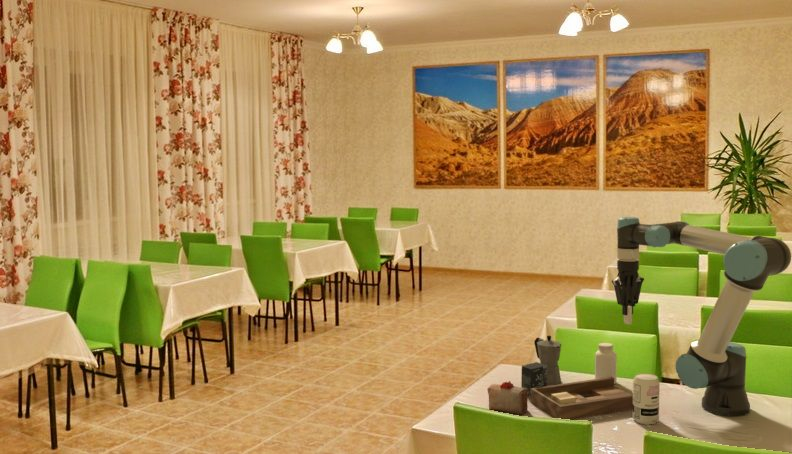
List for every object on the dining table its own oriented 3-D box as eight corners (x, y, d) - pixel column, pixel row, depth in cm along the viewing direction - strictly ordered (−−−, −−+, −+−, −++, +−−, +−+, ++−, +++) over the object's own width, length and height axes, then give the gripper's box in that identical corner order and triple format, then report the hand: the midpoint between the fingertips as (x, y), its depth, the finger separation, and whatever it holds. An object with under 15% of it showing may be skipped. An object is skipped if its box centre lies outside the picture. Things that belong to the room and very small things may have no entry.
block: (575, 408, 250) (575, 397, 249) (560, 411, 248) (560, 399, 247) (566, 403, 255) (566, 391, 255) (551, 405, 253) (551, 394, 253)
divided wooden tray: (646, 407, 255) (646, 393, 254) (560, 421, 244) (560, 406, 243) (611, 389, 274) (611, 376, 273) (530, 402, 263) (530, 388, 262)
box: (531, 397, 268) (531, 369, 267) (521, 393, 272) (520, 365, 271) (547, 392, 272) (547, 365, 271) (536, 388, 277) (536, 361, 276)
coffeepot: (569, 383, 282) (569, 337, 280) (549, 387, 278) (549, 341, 276) (544, 373, 295) (544, 329, 293) (525, 376, 291) (525, 332, 289)
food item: (484, 410, 256) (484, 382, 255) (493, 403, 263) (493, 376, 262) (522, 416, 249) (522, 388, 248) (530, 409, 256) (530, 381, 255)
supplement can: (638, 414, 249) (638, 371, 247) (662, 419, 243) (663, 375, 242) (628, 421, 242) (629, 377, 241) (653, 427, 237) (654, 382, 236)
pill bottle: (590, 380, 285) (591, 342, 283) (608, 378, 287) (609, 340, 286) (602, 386, 277) (602, 348, 276) (620, 384, 280) (621, 345, 278)
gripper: (635, 257, 273) (635, 319, 275) (606, 259, 268) (606, 323, 271) (649, 259, 266) (649, 323, 268) (620, 262, 261) (619, 327, 264)
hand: (627, 323), depth 270 cm, fingers closed
